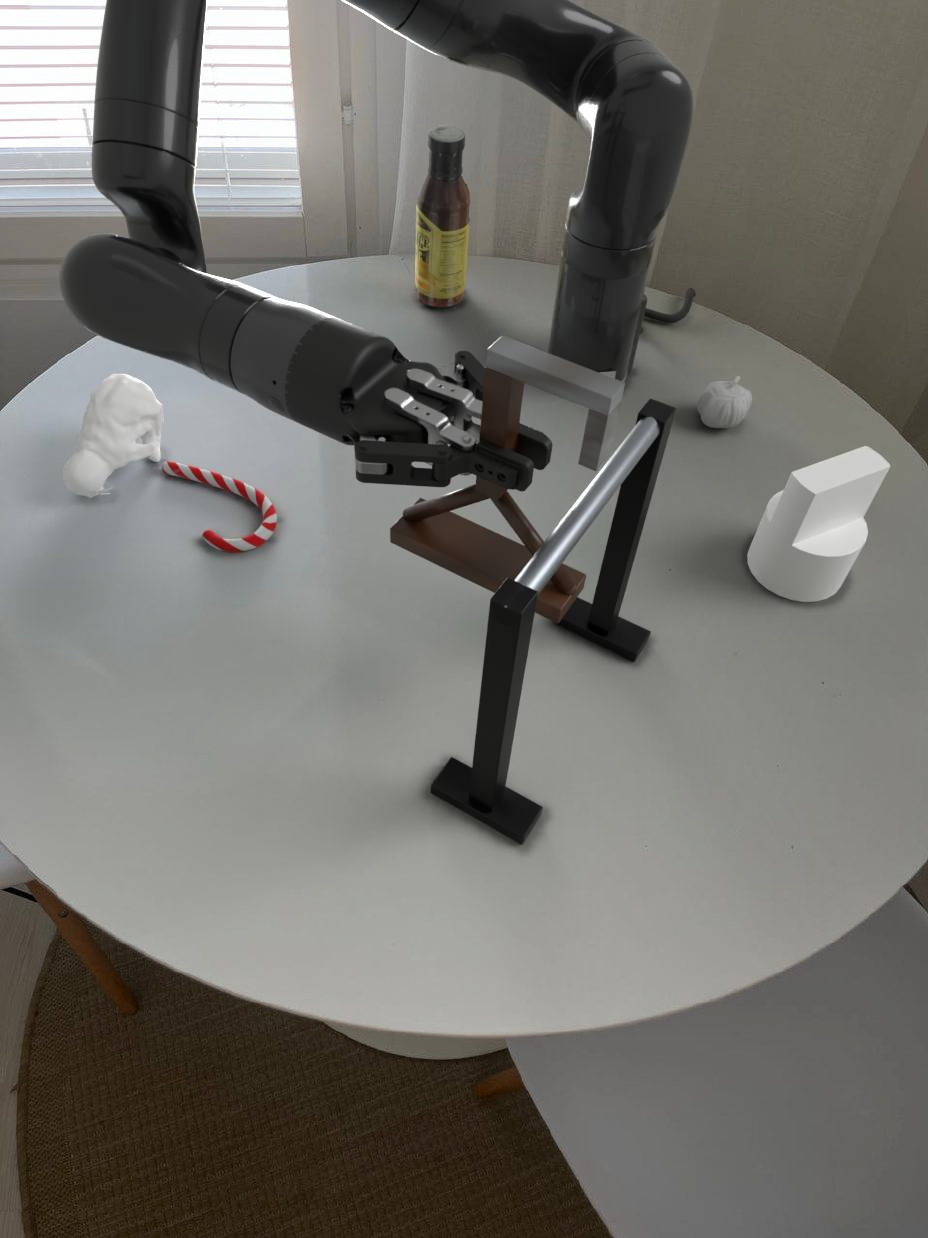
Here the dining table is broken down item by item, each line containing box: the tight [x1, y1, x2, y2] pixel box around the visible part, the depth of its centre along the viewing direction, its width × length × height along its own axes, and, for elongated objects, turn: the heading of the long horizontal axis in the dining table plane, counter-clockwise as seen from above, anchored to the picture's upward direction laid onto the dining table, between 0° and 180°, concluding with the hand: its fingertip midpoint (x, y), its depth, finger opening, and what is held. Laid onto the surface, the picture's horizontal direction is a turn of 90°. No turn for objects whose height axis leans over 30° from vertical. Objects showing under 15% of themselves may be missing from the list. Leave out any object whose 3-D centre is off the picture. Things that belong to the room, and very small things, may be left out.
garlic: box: [696, 375, 753, 429], centre depth 98 cm, size 6×5×5 cm
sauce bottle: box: [414, 124, 471, 309], centre depth 105 cm, size 7×6×20 cm
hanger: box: [389, 335, 626, 623], centre depth 59 cm, size 14×4×18 cm, turn 59°
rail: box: [430, 398, 677, 846], centre depth 65 cm, size 23×8×24 cm, turn 149°
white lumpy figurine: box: [62, 373, 165, 499], centre depth 87 cm, size 6×8×12 cm
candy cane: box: [161, 460, 278, 553], centre depth 87 cm, size 8×1×15 cm
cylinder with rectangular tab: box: [746, 445, 891, 603], centre depth 81 cm, size 9×9×12 cm
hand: (538, 465), depth 57 cm, fingers closed on hanger, 2 cm apart
